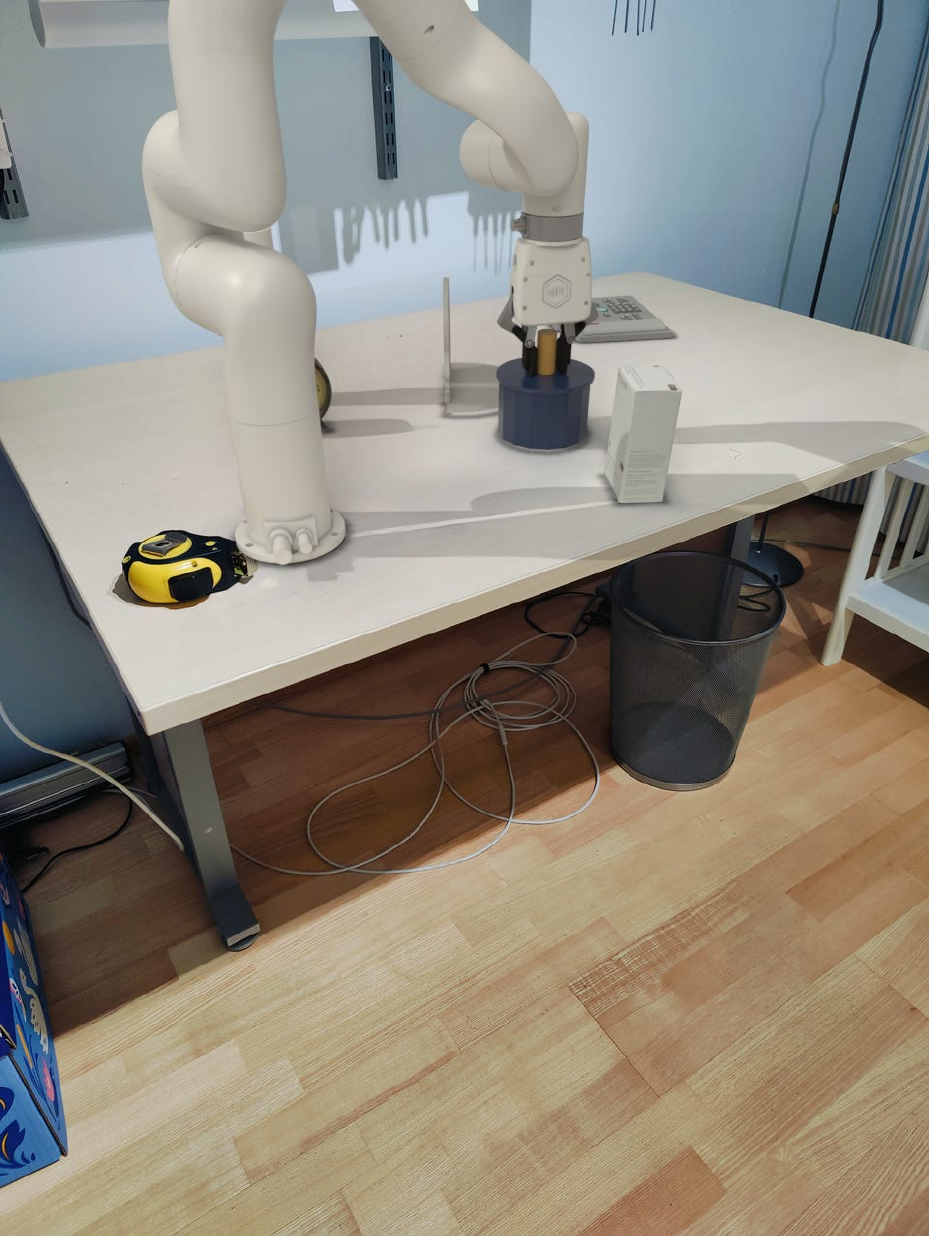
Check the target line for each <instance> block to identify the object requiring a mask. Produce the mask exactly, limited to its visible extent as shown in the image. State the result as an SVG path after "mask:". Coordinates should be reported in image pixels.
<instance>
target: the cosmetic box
mask: <svg viewBox="0 0 929 1236" xmlns="http://www.w3.org/2000/svg"><path fill="white" fill-rule="evenodd" d="M617 369H618V370H617V376H616V385H615V392H614V399H613V407H612V414H611V421H610V428H609V436H608V442H607V443H608V444H607V450H606V457H605V465H604V466H605V467H604V471H603V472H604V475H605V477H606V478H607V479H608V481H609V483H610V485H611V487H612V489H613V491H614V493H615V497H616V502H617V503H618V504H641V503H662V502H663V501H664V495H665V489H666V482H667V478H668V472H669V466H670V460H671V456H672V450H673V444H674V439H675V435H676V434H675V432H676V429H677V422H678V418H679V417H678V416H679V412H680V411H679V410H680V406H681V399H682V395H683V390H682V389H681V387H680V386H679V385H678V383H677V382H676V381H675V377H674V376H673V374H671V373H670V372H669V371H668V370H667V368H666V367H665V365H663V364H655V363H654V364H618V368H617Z"/></svg>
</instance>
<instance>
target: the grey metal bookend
mask: <svg viewBox="0 0 929 1236" xmlns="http://www.w3.org/2000/svg"><path fill="white" fill-rule="evenodd" d="M442 279H443V281H442V310H443V311H442V322H443V323H442V324H443V325H442V327H443V331H442V332H443V376H444V377H443V378H444V404H446V413H451V414H467V413H479V412H487V411H492V410H497V409H499V381H498V380H497V377H496V371H497V369H498V367H499V366H496V365H491V364H485V363H477V362H476V363H474V362H452V359H451V357H452V355H451V354H452V353H451V351H452V350H451V349H452V348H451V306H450V304H451V303H450V277H447V276H445V277H443V278H442Z"/></svg>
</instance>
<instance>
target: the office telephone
mask: <svg viewBox="0 0 929 1236" xmlns="http://www.w3.org/2000/svg"><path fill="white" fill-rule="evenodd" d="M592 303H593V305H594V306H595V308H596V310H597V312H598V315H599V316H598V318H597V319H596V320H595V321H593V322H592V323H591V324H589V325H588V326H586V327H585V328H584V330H583V331H582V332H581V333H580V334H579V335H578V336H577V337H576V339H575V342H576V343H581V344H586V343H588V344H589V343H607V342H625V341H642V340H643V341H644V340H660V339H672V336H673V331H672V329H670V328H669V327H668V326H667V325H666V324H665V322H664V321H663V319H661V318H659V317H656V316H655V315H654V314H652V312H650V311H649V310H648V309H647V308H646V307H645V306H644V305H642V304H641V303H640V302H639V301H638V300H637V299H636V298H635V296H632V295H617V296H616V295H615V296H601V297H592ZM550 326H551V327H552V329H553V330H556V331H557V332H560V326H559V324H554V325H550Z"/></svg>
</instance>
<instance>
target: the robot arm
mask: <svg viewBox="0 0 929 1236" xmlns="http://www.w3.org/2000/svg"><path fill="white" fill-rule="evenodd" d="M350 1H351V2H352V3H353V4H354V5H355V6H356V8H357V9H358V11H359V12H360V13H361V15H362V16H363V17H364V19H365V20H366V22H367V23H368V24H369V25H370V27H371V28H372V30H373V31H374V32H375V34H376V35H377V36H378V38H379V40H380V41H381V42H382V44H383V45H384V47H385V48H386V49H387V50H388V52H389V53H390V55H391V56H392V58H393V59H394V61H395V62H396V63H397V65H398V66H399V68H400V69H401V71H402V72H403V73H404V75H405V76H406V78H407V79H408V80H409V81H410V82H411V83H412V84H413V85H414V86H416V87H417V88H418V89H420V90H422V91H423V92H425V93H426V94H428V95H429V96H431V97H433V98H435V99H436V100H439V101H441V102H443V103H445V104H447V105H449V106H451V107H454V108H456V109H457V110H461V111H462V112H464V113H467V114H468V115H470V116H472V117H473V118H475V119H476V120H474V121H473V122H472V123H471V124H470V125H468V127H467V129H465V131H464V133H463V134H462V138H461V140H460V143H459V160H460V161H459V162H460V165H461V167H462V169H463V172H464V173H465V174H466V175H467V176H468V178H469V179H471V180H472V181H473V182H474V183H476V184H477V185H480V186H482V187H485V188H488V189H494V190H498V191H503V192H513V193H518V194H522V211H520V216H519V217H518V218H517V219H511V222H510V228H511V232H517V233H520V235H521V237H517V239H516V242H515V246H514V250H513V251H514V253H513V256H512V257H513V258H512V262H511V271H510V278H509V288H508V289H509V291H508V300H507V303H505V306H504V308H503V310H502V311H501V313H500V314H499V316H498V318H497V320H496V323H497V325H498V326H499V327H500V328H501V329H503V330H505V331H507V332H508V333H511V334H512V335H514V336H515V337H516V339H518V340H519V341H520V342H521V343H522V347H521V348H522V349H521V358H522V367H523V368H524V369H525V370H526V372H527V373H528V374H529V375H530V376H531V377H535V375H537V352H538V349H537V345H536V340H535V339H536V336H537V331H538V327H542V326H551V325H554V324H559V326H560V331H559V336H558V337H557V345H556V363H555V367H556V368H557V369H558V370H559V371H560V372H561V373H562V374H566V373H567V366H568V365H570V362H571V359H572V347H573V346H572V345H573V344H574V343H575V342H576V340H575V339H576V337H577V336H578V335H579V334H580V333H581V332H582V331H583V330H584V328H585V327H586V326H588V325H589V324H591V323H592V322H593V321H595V320H596V319H597V318H598V316H599V315H598V312H597V310H596V308H595V306H594V305H593V303H592V298H593V297H592V295H593V292H592V291H593V284H592V283H593V280H592V278H593V277H592V276H593V275H592V257H591V245H590V239H589V238H588V237H586V236H584V235H583V231H584V216H585V215H584V213H585V212H584V210H585V199H586V185H587V184H586V183H587V170H588V168H587V167H588V154H589V153H588V152H589V137H590V125H589V121H588V119H587V117H586V116H585V115H584V114H582V113H579V112H577V111H567V110H565V109H564V108H563V106H562V104H561V102H560V100H559V98H558V97H557V95H556V93H555V92H554V90H553V89H552V87H551V86H550V84H549V83H548V82H547V80H546V79H545V78H544V77H543V76H542V74H540V73H539V71H537V69H536V68H535V67H533V66H532V65H531V64H530V63H529V62H528V61H527V60H526V59H524V57H523V56H522V55H520V54H519V53H518V52H517V51H515V50H514V49H513V48H512V47H511V46H510V45H508V44H507V43H506V42H505V41H504V40H503V39H502V38H501V37H499V35H497V34H496V33H494V32H493V31H492V30H491V29H489V27H487V26H486V25H484V24H483V23H482V22H481V21H480V20H479V19H478V18H477V17H476V15H475V14H474V13H473V11H472V10H471V8H470V7H469V5H468V3H467V2H466V0H350ZM287 2H288V0H169V2H168V10H167V43H168V44H167V46H168V51H169V52H168V54H169V61H170V68H171V75H172V76H171V77H172V82H173V90H174V98H175V104H176V109H174V110H171V111H167V112H166V113H164V114H163V115H161V116H160V117H159V118H158V119H157V120H156V121H155V122H154V124H153V125H151V128H150V129H149V131H148V134H147V135H146V138H145V141H144V144H143V150H142V156H141V157H142V158H141V172H142V173H141V174H142V182H143V187H144V192H145V198H146V203H147V208H148V212H149V217H150V222H151V225H152V226H151V227H152V230H153V235H154V236H153V237H154V241H155V244H156V249H157V254H158V258H159V262H160V267H161V271H162V276H163V280H164V282H165V286H166V288H167V291H168V293H169V297H170V299H171V301H172V302H173V305H175V307H176V308H177V309H178V311H179V312H180V313H181V314H182V315H183V317H185V318H186V319H188V320H189V321H190V322H192V323H193V324H196V325H197V326H199V327H200V328H203V329H205V330H207V331H209V332H212V333H214V334H216V335H218V336H219V337H221V338H223V341H224V348H225V349H224V351H225V352H224V362H223V369H222V390H223V391H222V392H223V399H224V405H225V410H226V414H227V420H228V425H229V426H228V427H229V431H230V437H231V443H232V449H233V454H234V460H235V466H236V471H237V476H238V477H237V478H238V483H239V487H240V493H241V494H240V495H241V498H242V499H241V500H242V505H243V511H244V516H245V517H244V518H243V519H242V520H241V521H240V522H239V523H238V524H237V526H236V528H235V530H234V540H235V543H236V547H237V549H238V550H239V551H240V553H242V554H243V555H244V556H246V557H249V558H251V559H253V560H256V561H259V562H263V563H268V564H278V565H281V566H283V565H285V566H286V565H288V564H295V563H302V562H307V561H311V560H313V559H317V558H320V557H322V556H324V555H327V554H328V553H330V552H331V551H333V550H334V549H335V548H337V547H338V546H340V544H341V543H342V542H343V541H344V539H345V537H346V530H347V529H346V521H345V519H344V516H342V514H341V513H339V511H337V510H335V509H333V508H332V507H331V506H330V505H331V504H330V499H329V498H330V497H329V496H330V495H329V488H328V487H329V486H328V478H327V468H326V460H325V451H324V443H323V434H322V426H321V424H320V415H319V406H318V399H317V389H316V379H315V363H314V357H315V349H316V348H315V347H316V346H315V345H316V331H317V320H318V319H317V317H318V306H317V305H318V304H317V298H316V293H315V290H314V286H313V285H312V282H311V280H310V278H309V277H308V275H307V274H306V273H305V270H304V269H303V268H302V267H301V266H300V265H299V264H298V263H297V262H296V261H294V260H293V259H292V258H290V257H289V256H287V255H286V254H284V253H283V252H280V251H278V250H276V249H275V248H274V249H271V248H268V247H265V246H261V245H258V244H255V243H252V242H249V241H244V234H243V232H257V231H261V230H265V229H267V228H269V227H270V226H271V227H272V226H274V224H275V223H276V222H278V221H279V219H280V218H281V216H282V214H283V213H284V210H285V207H286V204H287V198H288V181H287V179H288V177H287V169H286V161H285V154H284V145H283V137H282V131H281V122H280V115H279V107H278V99H277V92H276V91H277V90H276V83H275V68H274V67H275V66H274V42H275V37H276V31H277V27H278V24H279V20H280V18H281V15H282V12H283V10H284V8H285V6H286V4H287ZM513 318H514V319H515V321H517V323H516V322H514V321H513Z"/></svg>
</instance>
